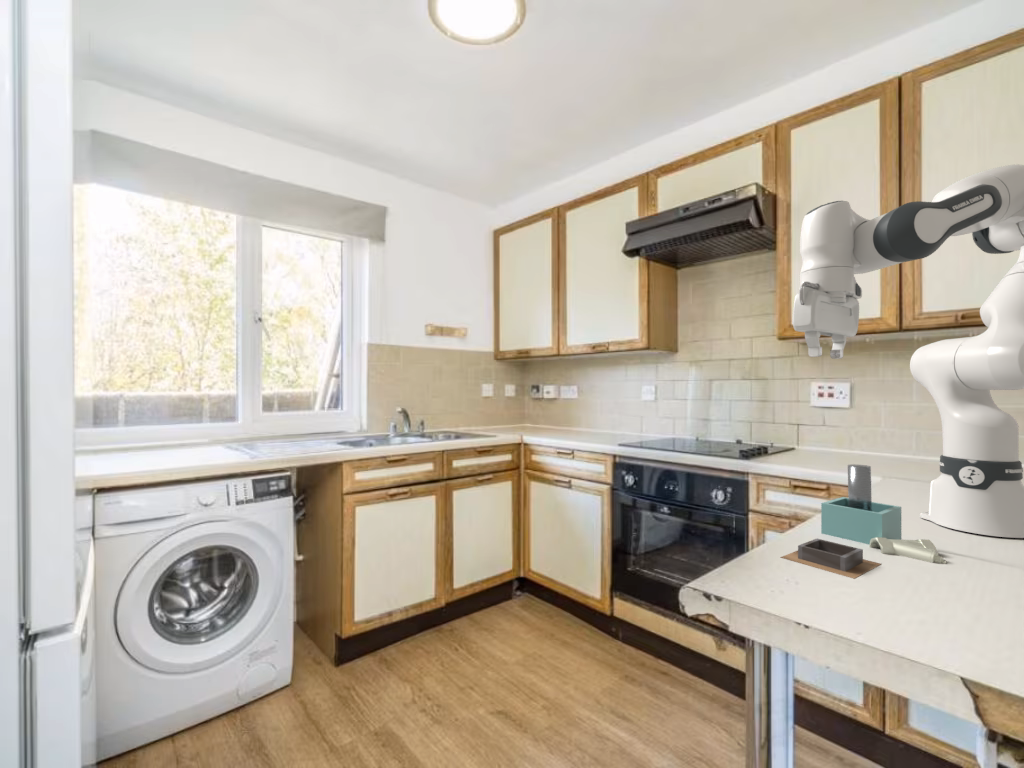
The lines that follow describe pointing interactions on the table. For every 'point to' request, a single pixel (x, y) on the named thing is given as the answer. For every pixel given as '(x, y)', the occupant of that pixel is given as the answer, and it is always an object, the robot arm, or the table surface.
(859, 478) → the strut
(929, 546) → the pipe fitting
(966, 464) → the robot arm
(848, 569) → the mount plate
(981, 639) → the table surface
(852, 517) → the bin
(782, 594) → the table surface
